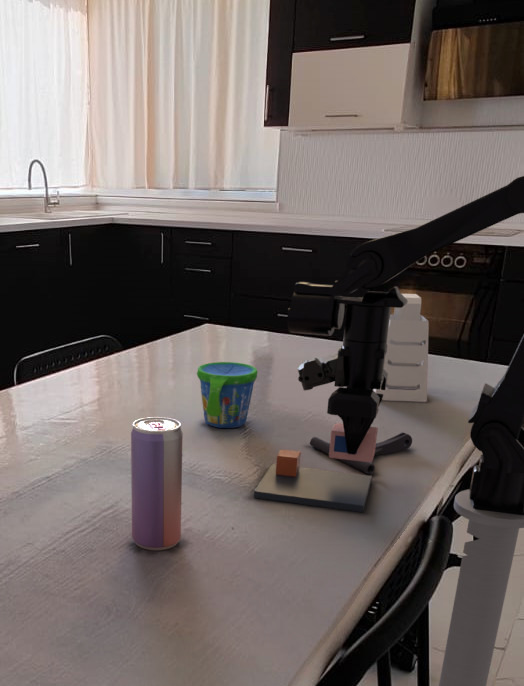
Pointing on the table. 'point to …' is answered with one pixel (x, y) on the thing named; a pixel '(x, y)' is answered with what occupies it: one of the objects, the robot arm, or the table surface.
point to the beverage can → (156, 482)
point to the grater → (407, 353)
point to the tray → (316, 488)
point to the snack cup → (226, 392)
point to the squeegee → (387, 446)
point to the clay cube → (288, 463)
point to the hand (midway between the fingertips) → (353, 449)
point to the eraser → (340, 449)
